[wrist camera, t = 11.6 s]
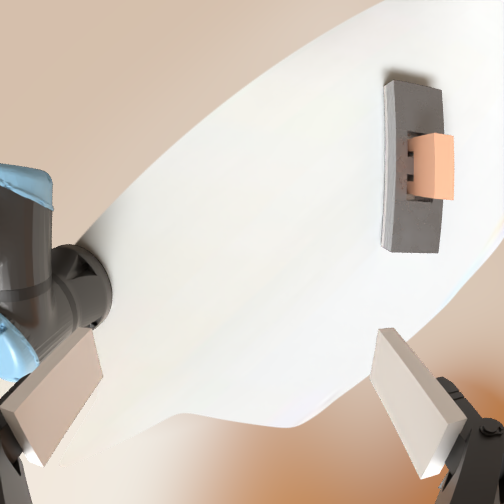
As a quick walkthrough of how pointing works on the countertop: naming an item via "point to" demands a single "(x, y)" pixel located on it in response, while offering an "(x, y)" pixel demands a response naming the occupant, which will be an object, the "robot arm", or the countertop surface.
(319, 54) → the countertop surface
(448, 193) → the tall peach block
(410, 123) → the rail
